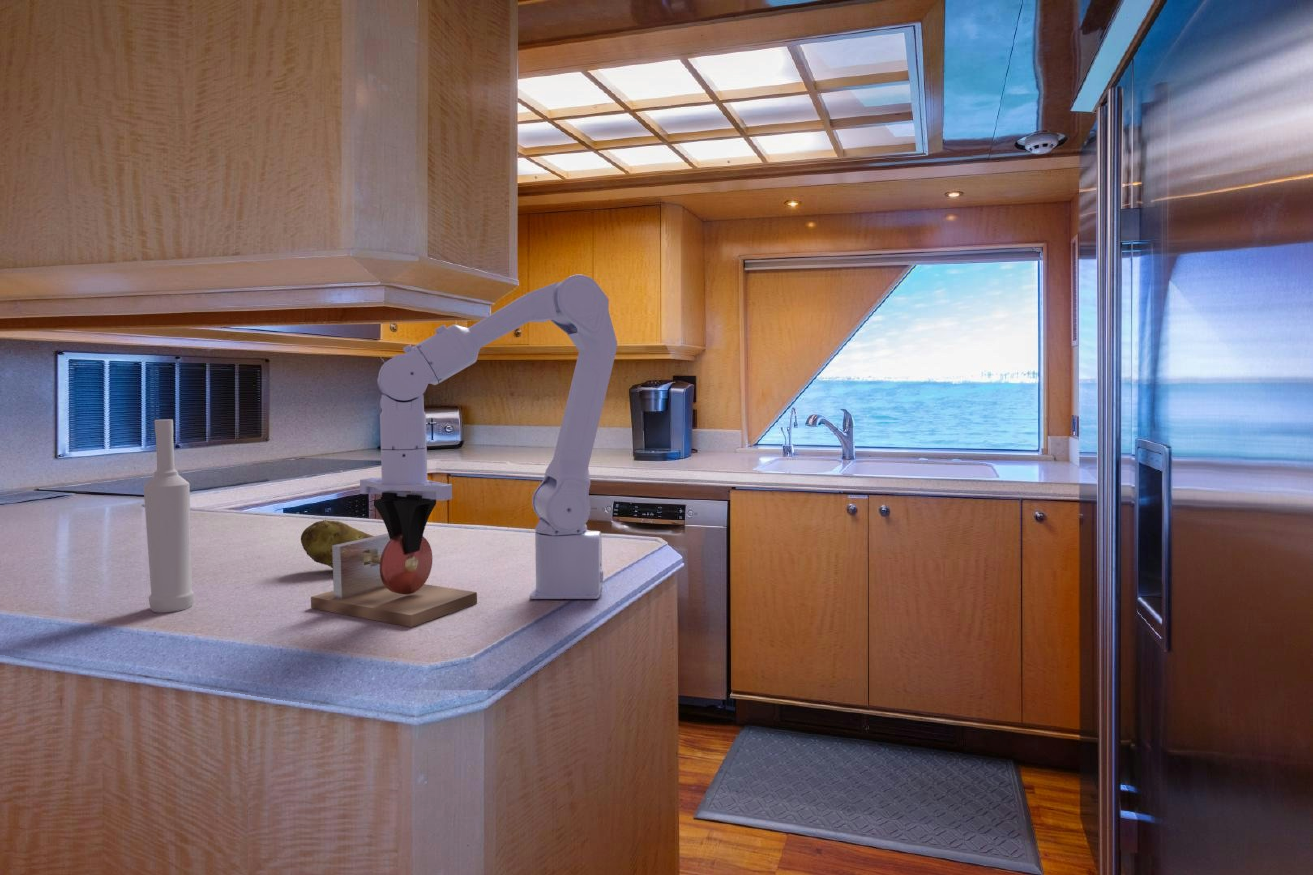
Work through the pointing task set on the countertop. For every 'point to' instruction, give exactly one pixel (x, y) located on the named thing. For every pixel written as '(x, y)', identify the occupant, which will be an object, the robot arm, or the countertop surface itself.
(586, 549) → the robot arm
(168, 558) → the bottle
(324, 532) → the potato
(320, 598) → the base board
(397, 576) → the copper disc on rod
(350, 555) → the eye plate
